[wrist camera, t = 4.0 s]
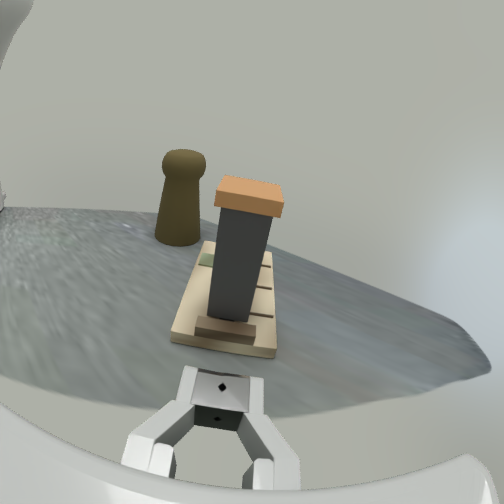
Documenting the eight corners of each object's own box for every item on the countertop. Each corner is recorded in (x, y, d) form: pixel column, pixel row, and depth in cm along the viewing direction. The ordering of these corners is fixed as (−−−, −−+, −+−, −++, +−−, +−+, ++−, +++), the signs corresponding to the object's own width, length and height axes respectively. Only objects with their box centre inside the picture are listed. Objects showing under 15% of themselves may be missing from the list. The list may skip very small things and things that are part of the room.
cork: (160, 222, 37) (167, 144, 32) (202, 228, 38) (213, 149, 33) (148, 242, 32) (153, 152, 27) (197, 249, 33) (208, 158, 27)
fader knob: (200, 318, 20) (216, 190, 16) (208, 287, 24) (224, 174, 19) (252, 326, 21) (284, 202, 16) (253, 295, 24) (279, 185, 19)
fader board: (170, 341, 20) (170, 321, 19) (203, 249, 33) (205, 232, 32) (273, 358, 20) (280, 340, 19) (269, 260, 34) (273, 245, 32)
